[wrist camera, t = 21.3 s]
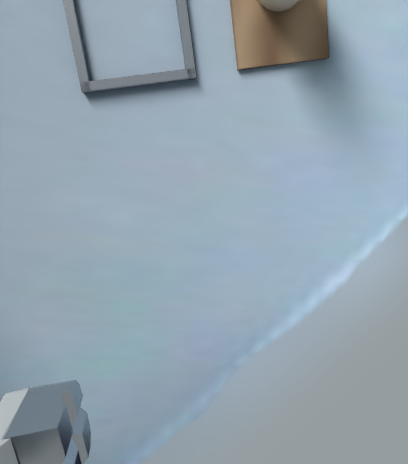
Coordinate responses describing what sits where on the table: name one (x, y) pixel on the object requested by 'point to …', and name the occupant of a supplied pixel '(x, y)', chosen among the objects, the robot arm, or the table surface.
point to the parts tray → (130, 80)
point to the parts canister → (278, 4)
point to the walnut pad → (279, 33)
